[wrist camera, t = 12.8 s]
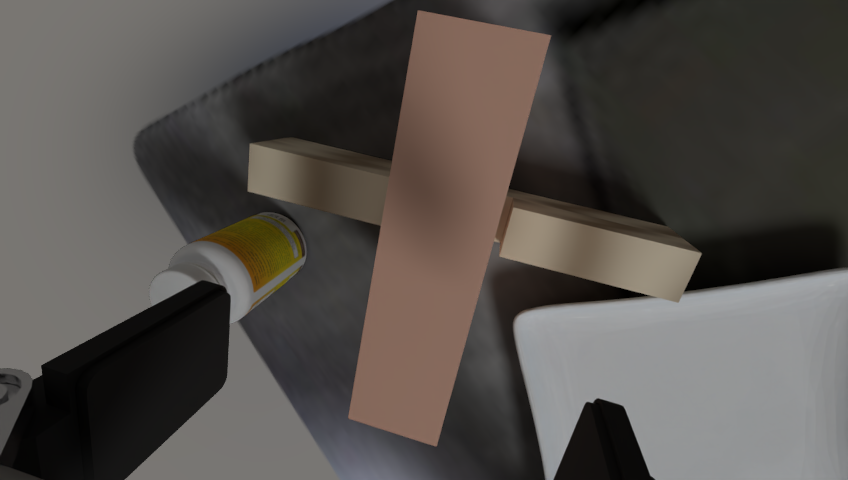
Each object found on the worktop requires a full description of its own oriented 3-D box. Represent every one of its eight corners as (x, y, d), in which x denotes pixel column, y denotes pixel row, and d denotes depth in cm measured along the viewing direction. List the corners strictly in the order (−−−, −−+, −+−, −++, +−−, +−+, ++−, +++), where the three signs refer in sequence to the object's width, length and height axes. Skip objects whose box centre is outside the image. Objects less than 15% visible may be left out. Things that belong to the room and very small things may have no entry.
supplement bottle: (254, 197, 31) (142, 239, 22) (318, 229, 31) (234, 285, 21) (238, 258, 33) (129, 320, 24) (298, 288, 33) (213, 362, 24)
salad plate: (862, 242, 24) (915, 263, 21) (851, 511, 30) (891, 560, 27) (507, 291, 30) (507, 313, 27) (553, 511, 36) (557, 551, 32)
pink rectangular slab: (468, 299, 30) (436, 446, 17) (416, 285, 31) (348, 418, 18) (529, 71, 25) (551, 35, 12) (465, 58, 25) (417, 10, 12)
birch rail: (667, 226, 26) (701, 253, 21) (649, 268, 27) (678, 302, 22) (291, 137, 29) (249, 143, 24) (288, 177, 30) (247, 191, 25)
